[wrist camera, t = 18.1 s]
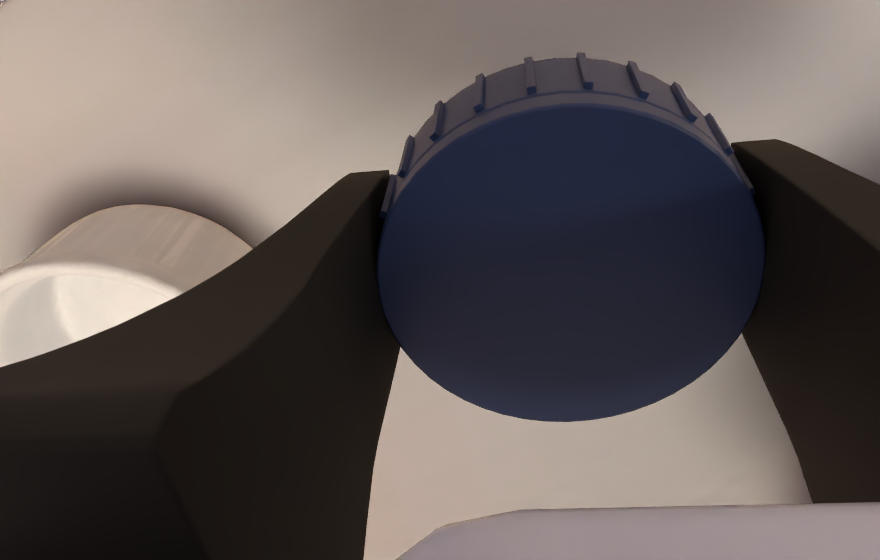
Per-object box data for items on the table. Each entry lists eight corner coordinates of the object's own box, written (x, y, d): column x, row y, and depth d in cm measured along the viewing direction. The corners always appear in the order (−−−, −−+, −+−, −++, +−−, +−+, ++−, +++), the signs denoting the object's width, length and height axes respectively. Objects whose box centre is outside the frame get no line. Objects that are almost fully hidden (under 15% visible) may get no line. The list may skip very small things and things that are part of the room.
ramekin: (1, 167, 21) (-100, 248, 18) (310, 199, 21) (272, 287, 17) (66, 393, 26) (-2, 492, 23) (315, 419, 26) (286, 522, 23)
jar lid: (760, 33, 10) (803, 80, 8) (718, 347, 12) (745, 421, 11) (360, 68, 10) (337, 116, 9) (410, 359, 13) (400, 430, 12)
